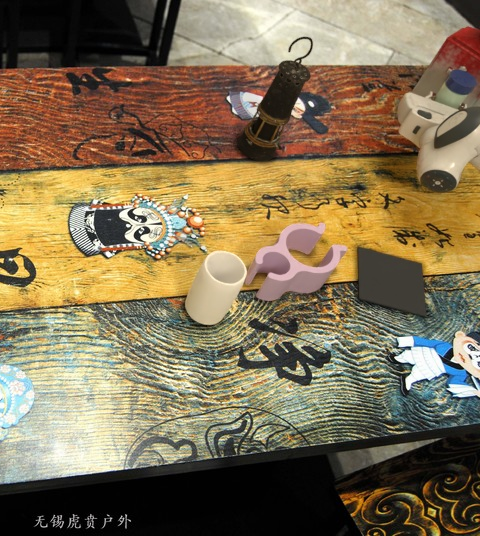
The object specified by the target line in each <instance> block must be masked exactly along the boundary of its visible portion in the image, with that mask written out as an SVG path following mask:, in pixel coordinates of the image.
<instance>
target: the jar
mask: <svg viewBox="0 0 480 536" xmlns="http://www.w3.org/2000/svg"><path fill="white" fill-rule="evenodd" d="M468 95H469V94H468ZM468 95H461V94H457V93H455V92H453V91H451V90H450V89H449V88H448V87H447V86H446V84H445V82H444V84H443V85H442V87H441V88H440V89H439V91H438V92H437V94H436V98H435V99H434V101H436V102H438V103H441V104H444V105H447V106H449V107H452V108H455V109H458V108H459V107H460V106H461V104H462V103H463V102H464V100H465V99H466V97H467V96H468Z"/></svg>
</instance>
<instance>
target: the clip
mask: <svg viewBox="0 0 480 536" xmlns="http://www.w3.org/2000/svg"><path fill="white" fill-rule="evenodd" d="M326 227H327V224H325V223H324V222H319V223H318V225H317V226H316V225H313V224H309V223H304V222H298V223H292V224H290V225H288V226H286V227H285V228H283V230H282V231H281V232H280V234H279V236H278V238H277V239H276V241H275V242H274V244H273V245H267V246H263V247H261V248H260V249H259V250H258V251H257V252H256V254H255V255H254V258H253V259H252V261H251V263H250V264H249V267H248V268H247V269H246V270H247V275H246V278H245V281H244V283H243V284H245V285H250V284H251V283H252V282H253V280H254V278H255V277H256V274H258V273H264V274H267V276H266V277H265V279H264V280H263V282H262V284H261V285H260V287H259V289H258V290H257V292H256V293H255V298H257V299H259V300H261V301H266V302H271V301H276V300H279V299H280V298H281V297H282V296H283V294H285V293H286V292H287V293H288V292H295V293H299V294H311V293H314V292H317V291H319V290H320V289H321V288H322V287H323V286H324V284H325V283H326V282H327V280H328V279H329V278H330V276H331V275H332V273H333V272H334V270H335V269H336V268H337V266H338V265H339V263H340V261H341V260H342V259H343V258H344V256H345V254H346V253H347V252H348V247H347V246H346V245H342V244H338V243H337V244H332V245H331V246H330V248H329V249H328V251H327V252H326V253H325V255H324V256H323V259H321V261H320V262H319V264H318V265H317V266H310V265H306V264H304V263H302V262H300V261H299V260H298V259H296V258H295V257H294V256H293V255H292V253H290V251H289V250H293V251H298V252H301V253H303V254H305V255H311V253H312V251H313V250H314V248H315V247H316V245H317V244H318V242H319V241H320V239H321V237H322V236H323V234H324V233H325V231H326Z"/></svg>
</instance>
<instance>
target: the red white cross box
mask: <svg viewBox="0 0 480 536" xmlns="http://www.w3.org/2000/svg"><path fill="white" fill-rule="evenodd" d="M456 69H458V70H463V71H466V72H468V73H470V74H471V75H472V76H474V78H475V79H476V81H477V85H476V86H475V88H474V89H473V91H472V92H471V93H470V94H469V95H468V96H467V97H466V99H465V100H464V102H463V103H464V104H467V108H469V107H477V106H478V107H480V29H478V28H475V27H471V26H465V27H461V28H460V29H458V30H457V31H455V32H454V33H452V34H451V35H448V36H447V37H446V39H445V40H444V42H443V43H442V45H441V47H440V48H439V49H438V50H437V52H436V54H435V55H434V57H433V59H432V60H431V61H430V63H429V65H428V66H427V67H426V69H425V71H424V72H423V73H422V76H421V77H420V78H419V80H418V82H417V83H416V85H415V86H414V88H413V89H412V91H410V92H411V93H414V94H416V95H419V96H422V97H426V96H427V95H428V94H429V92H430V91H431V92H434V93H436V94H437V92H438V91H439V89H440V88H441V87H442V85H443V84H444V82H445V80H446V78H447V77H448V75H449V74H450V72H451V71H452V70H456Z"/></svg>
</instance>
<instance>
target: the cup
mask: <svg viewBox="0 0 480 536" xmlns="http://www.w3.org/2000/svg"><path fill="white" fill-rule="evenodd" d="M247 270H248V269H247V267H246V264H245V262H244V261H243V260H242V258H240V257H239V256H238V255H237V254H235V253H232V252H230V251H227V250H226V251H225V250H214V251H211V252H210V253H208V255H206V257H205V258H204V260H203V261H202V263H201V265H200V266H199V268H198V270H197V272H196V273H195V275H194V278H193V280H192V282H191V285H190V287H189V290H188V293H187V295H186V298H185V302H184V307H185V308H184V309H185V311H186V313H187V314H188V315H189V317H190V318H191V319H192V320H193V321H195V322H197V323H199V324H202V325H205V326H206V325H207V326H212V325H213V326H214V325H216V324H218V323H220V322H221V321H222V320H223V319H224V317H225V316H226V315H227V313H228V311H229V310H230V309H231V307H232V306H233V304H234V303H235V300H236V299H237V297H238V295H239V293H240V292H241V290H242V288H243V286H244V284H245V283H244V281H245V278H246V275H247Z"/></svg>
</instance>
